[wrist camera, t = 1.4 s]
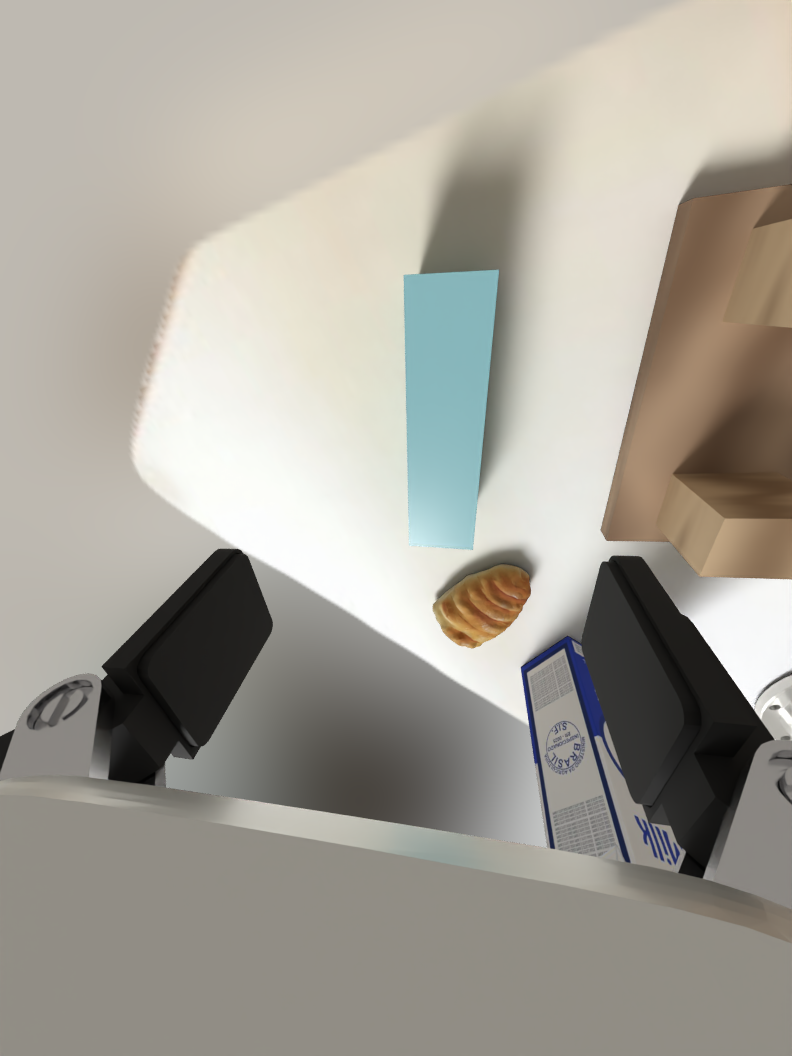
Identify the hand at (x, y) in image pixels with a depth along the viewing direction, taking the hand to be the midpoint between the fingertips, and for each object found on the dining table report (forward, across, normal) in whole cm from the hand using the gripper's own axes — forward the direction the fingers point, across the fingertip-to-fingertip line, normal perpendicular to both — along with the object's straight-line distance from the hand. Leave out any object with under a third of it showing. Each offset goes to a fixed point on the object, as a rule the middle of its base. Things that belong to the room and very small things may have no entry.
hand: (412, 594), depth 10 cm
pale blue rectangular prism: (+20, 0, 0) cm, 20 cm away
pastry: (+20, -3, +18) cm, 27 cm away
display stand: (+20, -18, 0) cm, 27 cm away
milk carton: (+20, -12, +27) cm, 36 cm away
